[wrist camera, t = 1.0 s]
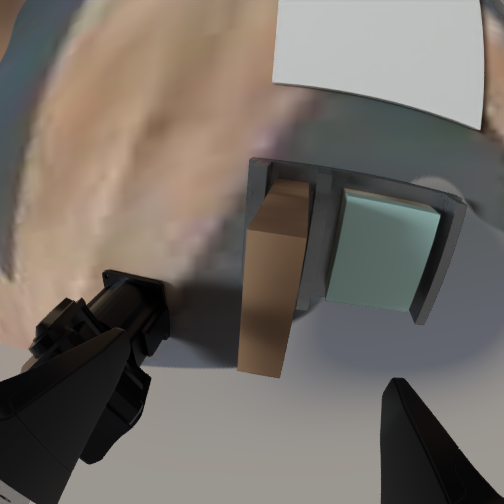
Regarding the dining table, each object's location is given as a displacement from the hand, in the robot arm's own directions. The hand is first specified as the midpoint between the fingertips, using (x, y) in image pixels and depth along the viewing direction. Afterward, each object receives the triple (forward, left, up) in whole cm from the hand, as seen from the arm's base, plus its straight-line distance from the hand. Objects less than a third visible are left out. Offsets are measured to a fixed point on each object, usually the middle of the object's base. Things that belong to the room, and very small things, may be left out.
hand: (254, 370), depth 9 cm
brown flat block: (0, 0, -12) cm, 12 cm away
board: (+5, +15, -13) cm, 21 cm away
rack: (+4, 0, -13) cm, 13 cm away
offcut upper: (+6, 0, -11) cm, 12 cm away
